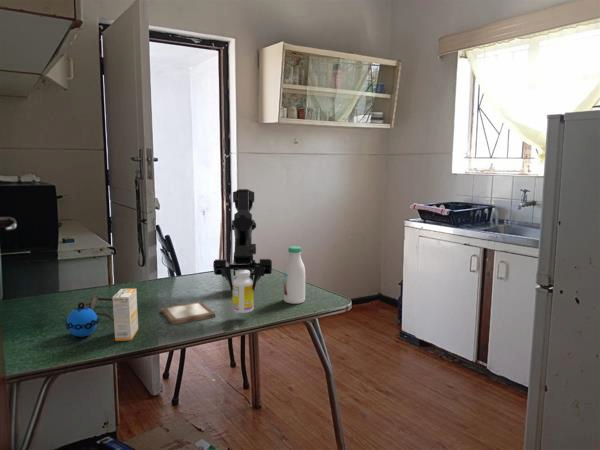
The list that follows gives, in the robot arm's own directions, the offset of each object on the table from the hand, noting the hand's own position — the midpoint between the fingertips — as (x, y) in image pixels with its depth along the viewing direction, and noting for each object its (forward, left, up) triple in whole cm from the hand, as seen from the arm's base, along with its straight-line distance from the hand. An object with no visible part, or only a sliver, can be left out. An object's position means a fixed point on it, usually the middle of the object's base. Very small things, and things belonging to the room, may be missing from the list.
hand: (242, 289), depth 148 cm
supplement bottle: (-1, -1, -7) cm, 7 cm away
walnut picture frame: (+13, -15, -10) cm, 22 cm away
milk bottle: (-25, -10, -10) cm, 28 cm away
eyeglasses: (+36, -29, -11) cm, 48 cm away
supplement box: (+34, -6, -10) cm, 36 cm away
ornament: (+45, -12, -10) cm, 48 cm away
